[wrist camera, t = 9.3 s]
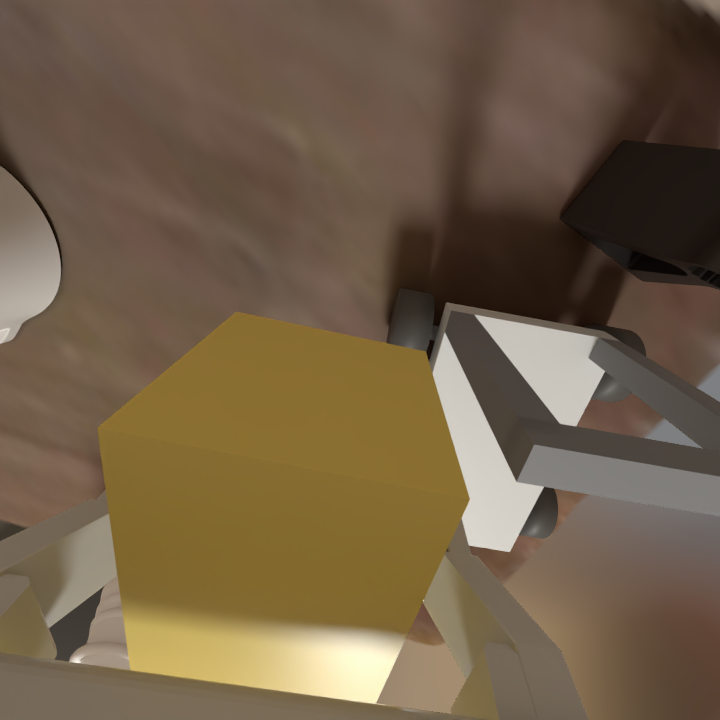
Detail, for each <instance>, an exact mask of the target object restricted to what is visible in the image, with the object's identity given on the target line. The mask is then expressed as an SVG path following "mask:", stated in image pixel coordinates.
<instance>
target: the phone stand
mask: <svg viewBox="0 0 720 720" xmlns="http://www.w3.org/2000/svg"><path fill="white" fill-rule="evenodd" d="M560 219H561V220H562V221H563V222H565V223H566V224H567V225H569V226H570V227H571V228H573V229H574V230H575V231H576V232H578V233H579V234H580V235H582V236H583V237H584V238H586V239H587V240H588V241H590V242H591V243H592V244H594V245H595V246H596V247H597V248H599V249H601V250H602V251H603V252H604V253H605V254H607V255H608V256H609V257H611V258H612V259H613V260H615V261H616V262H617V263H618V264H620V265H621V266H622V267H624V268H625V269H626V270H628V271H629V272H630V273H632V274H633V275H634V276H636V277H637V278H638V279H640V280H642V281H645V282H659V283H672V284H686V285H699V286H707V287H712V288H716V289H719V290H720V150H717V149H707V148H697V147H687V146H676V145H666V144H656V143H646V142H635V141H623V142H622V143H621V144H620V145H619V147H618V148H617V149H616V150H615V152H614V153H613V154H612V155H611V156H610V158H609V159H608V160H607V161H606V163H605V164H604V165H603V166H602V168H601V169H600V170H599V171H598V172H597V174H596V175H595V176H594V177H593V179H592V180H591V181H590V182H589V184H588V185H587V186H586V187H585V188H584V190H583V191H582V192H581V193H580V195H579V196H578V197H577V198H576V200H575V201H574V202H573V203H572V205H571V206H570V207H569V208H568V209H567V211H566V212H565V213H564V214H563V216H562V217H561V218H560Z"/></svg>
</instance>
